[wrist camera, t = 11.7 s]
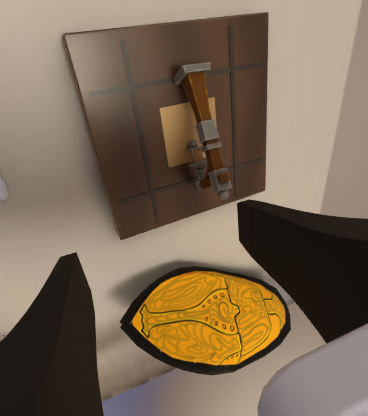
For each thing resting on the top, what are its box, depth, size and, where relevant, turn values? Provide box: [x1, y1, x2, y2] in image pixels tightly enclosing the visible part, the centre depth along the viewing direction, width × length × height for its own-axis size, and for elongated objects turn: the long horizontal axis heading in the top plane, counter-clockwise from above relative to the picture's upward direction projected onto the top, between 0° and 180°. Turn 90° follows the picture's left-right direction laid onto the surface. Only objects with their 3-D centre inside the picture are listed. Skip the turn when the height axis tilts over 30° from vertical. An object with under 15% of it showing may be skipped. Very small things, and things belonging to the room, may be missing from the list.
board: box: [62, 12, 268, 240], centre depth 20 cm, size 13×13×1 cm
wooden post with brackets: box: [173, 62, 233, 200], centre depth 19 cm, size 2×8×4 cm, turn 6°
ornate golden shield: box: [120, 266, 291, 375], centre depth 26 cm, size 9×17×6 cm
